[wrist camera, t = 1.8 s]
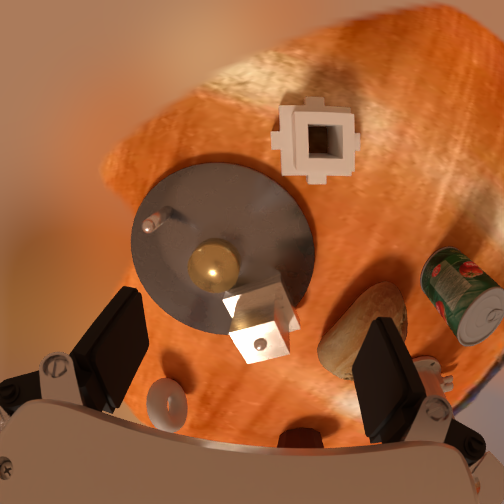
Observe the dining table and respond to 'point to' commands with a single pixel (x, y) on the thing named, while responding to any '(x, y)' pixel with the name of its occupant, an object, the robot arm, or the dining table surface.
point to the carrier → (226, 255)
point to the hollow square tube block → (297, 147)
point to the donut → (158, 405)
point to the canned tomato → (463, 295)
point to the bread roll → (360, 327)
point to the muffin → (300, 439)
